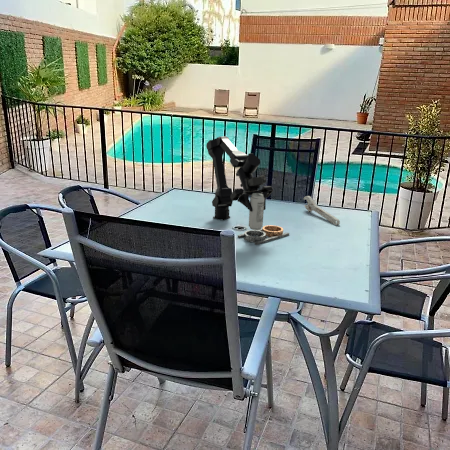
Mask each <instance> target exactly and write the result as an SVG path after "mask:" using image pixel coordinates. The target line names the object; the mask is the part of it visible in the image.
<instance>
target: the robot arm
mask: <svg viewBox="0 0 450 450" xmlns="http://www.w3.org/2000/svg"><path fill="white" fill-rule="evenodd" d="M205 147H206V150H207V153H208V156H210V158H211V159H212V163H213V170H214V175H215V181H216V189H215V192H214V198H213V199H212V201H211V203H212V207H214V216H212V219H214V220H220V221H225V220H229V219H230V218H231V216H230V207H232V205H233V203H234V202H235V201H237V202H238V203H240V204H242V205H243V206H244V207H245V208H246V209H247V210H248V211H251V212H252V211H253V210H252V206H251V204H250V199H249V198H250V197H249V196H252V194H253V193H261V194H263V197H264V211H265V210H266V208H267V207H266V205H267V204H266V202H267V201H266V198H269V197H270V196H271V195H272V193H273V192H274V187H272V185H265V186H264V184H266V182H267V179H266V176H265V175H263V174H262V175H260V176H257V177H254V176H253V174H254V173H255V171H256V170H257V169H258V167H259V166H260V165H261V159H260V158H259V157H258V156H256V155H254V153H251V152H249V153H248V154H246V153H245V152H243V151H241V150H239V149H238V148H237V147H236V146H235V144H233V142H231V140H230V138H229V137H228V136H218V137H216V138H213V139H209V140H208V142H206V146H205ZM225 153H226V155H227V156H228V158H229V163H230V165H231V166H232V168H234V169H235V168H236V169H237V168H238V169H237V170H236V173H235V176H236V177H238V178H239V180H240V184H239V185H240V187H241V188H234V189H232V188H231V187H229V186H228V182H227V177H226V171H225V164H224V159H223V156H224V154H225ZM261 185H263V186H262V188H261V189H259V188H260V187H261ZM233 201H234V202H233Z"/></svg>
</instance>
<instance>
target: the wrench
mask: <svg viewBox="0 0 450 450" xmlns="http://www.w3.org/2000/svg"><path fill="white" fill-rule="evenodd" d="M303 200H306V201H307V204H304V205H303V206H304V207H305V209H306V210H307V213H310V212H311V213H312V212H315V213H317V214H318V215H319V216H321V217H322V218H324V219H326V220H327V221H328V222H330V223H331V224H333V225H334V224H335V226H339V225H340V224H341V221H340V218H337V217H335V216H334V215H332V214H331V213H330V212H327V211H326V210H324V209H323V208H322V207H320V206H319V205H317V204H316V202H315V201H314V200H313V197H311V195H306V196H304V197H303Z"/></svg>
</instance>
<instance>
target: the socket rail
mask: <svg viewBox="0 0 450 450" xmlns="http://www.w3.org/2000/svg"><path fill="white" fill-rule="evenodd" d="M288 236H290V232H285V233H284V228H283V227H281V226H279V225H273V224H272V225H271V224H270V225H263V227H262V228H261V229H260V230H252V229H248V230H245V231H244V232H243V233H241V234H237V238H238V239H242V238H243V239H244V241H246V242H249V243H253V244H254V245H255V246H259V245H262V244H265V243H268V242H272V241H276V240H278V239H281V238H285V237H288ZM241 237H242V238H241Z"/></svg>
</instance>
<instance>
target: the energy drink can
mask: <svg viewBox="0 0 450 450" xmlns="http://www.w3.org/2000/svg"><path fill="white" fill-rule="evenodd" d="M249 198H250V199H249V201H250V204H251V206H252V210H253V211H252V212H251V211H250V210H248V211H249V213H248V214H249V216H248V227H249V230H260V229H262V228H263V227H264V224H263V223H264V211H265V210H264V197H263V194H261V193H253V194H252V195H250V197H249Z"/></svg>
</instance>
